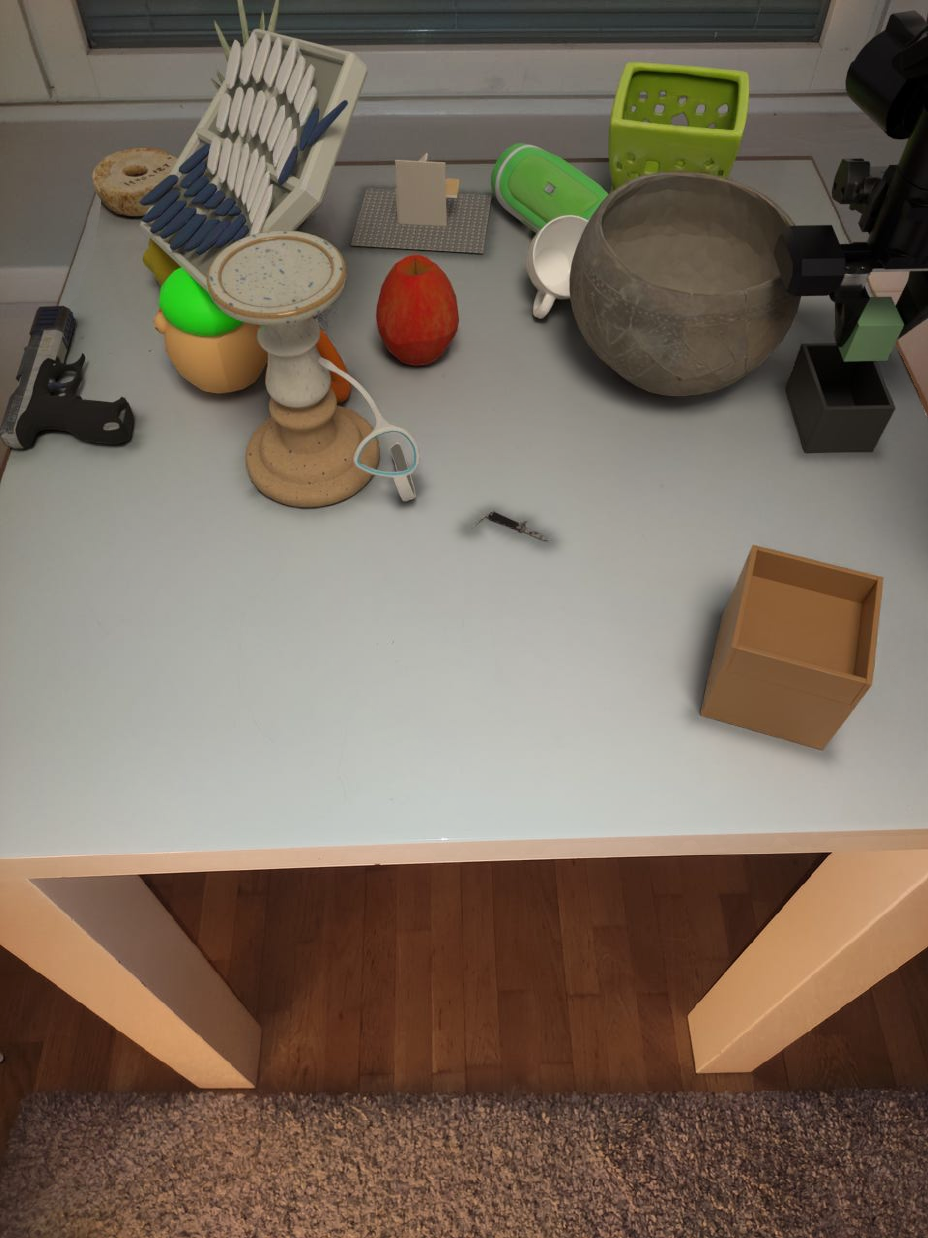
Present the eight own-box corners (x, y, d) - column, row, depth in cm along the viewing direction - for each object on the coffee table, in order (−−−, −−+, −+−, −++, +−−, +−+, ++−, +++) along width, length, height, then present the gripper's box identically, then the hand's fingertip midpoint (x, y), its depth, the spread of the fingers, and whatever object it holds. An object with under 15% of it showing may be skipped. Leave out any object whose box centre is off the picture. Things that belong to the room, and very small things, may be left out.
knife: (537, 559, 79) (553, 534, 80) (537, 556, 78) (553, 531, 80) (471, 529, 80) (487, 505, 82) (471, 526, 80) (487, 502, 81)
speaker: (628, 196, 93) (577, 254, 94) (648, 235, 99) (600, 289, 101) (521, 123, 101) (476, 178, 102) (546, 163, 107) (503, 215, 109)
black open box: (873, 451, 85) (896, 408, 81) (804, 453, 85) (824, 409, 81) (849, 386, 90) (869, 341, 85) (784, 387, 90) (801, 343, 85)
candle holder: (313, 393, 89) (278, 202, 73) (407, 452, 85) (392, 262, 68) (219, 465, 84) (157, 277, 67) (314, 531, 80) (273, 347, 63)
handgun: (130, 449, 86) (1, 456, 85) (155, 318, 97) (41, 324, 96) (120, 425, 83) (-13, 432, 83) (147, 293, 94) (29, 299, 94)
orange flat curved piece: (333, 362, 93) (232, 255, 82) (347, 353, 93) (246, 244, 81) (346, 424, 87) (239, 318, 76) (361, 415, 87) (254, 307, 76)
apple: (474, 361, 92) (475, 268, 83) (402, 389, 90) (394, 297, 81) (436, 315, 96) (433, 222, 87) (365, 341, 94) (355, 248, 85)
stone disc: (204, 195, 109) (158, 166, 113) (196, 164, 106) (149, 135, 110) (129, 230, 104) (84, 198, 109) (118, 199, 101) (72, 167, 106)
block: (875, 332, 81) (891, 296, 78) (887, 360, 79) (904, 324, 76) (832, 333, 81) (847, 296, 78) (843, 361, 79) (859, 325, 76)
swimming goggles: (310, 363, 72) (375, 338, 71) (320, 352, 80) (379, 330, 79) (377, 525, 77) (438, 502, 77) (380, 500, 85) (436, 480, 84)
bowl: (813, 372, 91) (868, 236, 78) (663, 466, 84) (697, 334, 71) (666, 269, 100) (694, 133, 88) (519, 346, 93) (527, 210, 81)
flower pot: (725, 180, 110) (753, 69, 99) (716, 249, 102) (745, 136, 92) (610, 166, 111) (625, 55, 101) (592, 232, 104) (607, 120, 93)
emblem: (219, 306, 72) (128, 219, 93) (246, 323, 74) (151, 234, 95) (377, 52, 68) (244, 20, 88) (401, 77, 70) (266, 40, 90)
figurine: (297, 366, 92) (276, 262, 82) (238, 426, 87) (209, 323, 77) (208, 330, 95) (177, 225, 85) (146, 386, 90) (106, 282, 80)
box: (836, 650, 73) (883, 577, 65) (823, 750, 68) (872, 685, 60) (721, 619, 75) (752, 544, 67) (700, 715, 70) (731, 646, 62)
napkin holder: (401, 205, 107) (397, 143, 101) (460, 209, 107) (459, 146, 100) (397, 223, 105) (393, 160, 99) (457, 226, 105) (456, 163, 98)
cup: (597, 248, 98) (619, 237, 92) (559, 336, 99) (578, 331, 93) (534, 214, 96) (552, 200, 90) (496, 305, 97) (511, 297, 91)
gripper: (1024, 112, 72) (938, 284, 85) (787, 116, 71) (738, 287, 84) (1080, 194, 65) (979, 365, 78) (821, 198, 65) (763, 369, 78)
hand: (861, 343), depth 80 cm, fingers closed on block, 4 cm apart
